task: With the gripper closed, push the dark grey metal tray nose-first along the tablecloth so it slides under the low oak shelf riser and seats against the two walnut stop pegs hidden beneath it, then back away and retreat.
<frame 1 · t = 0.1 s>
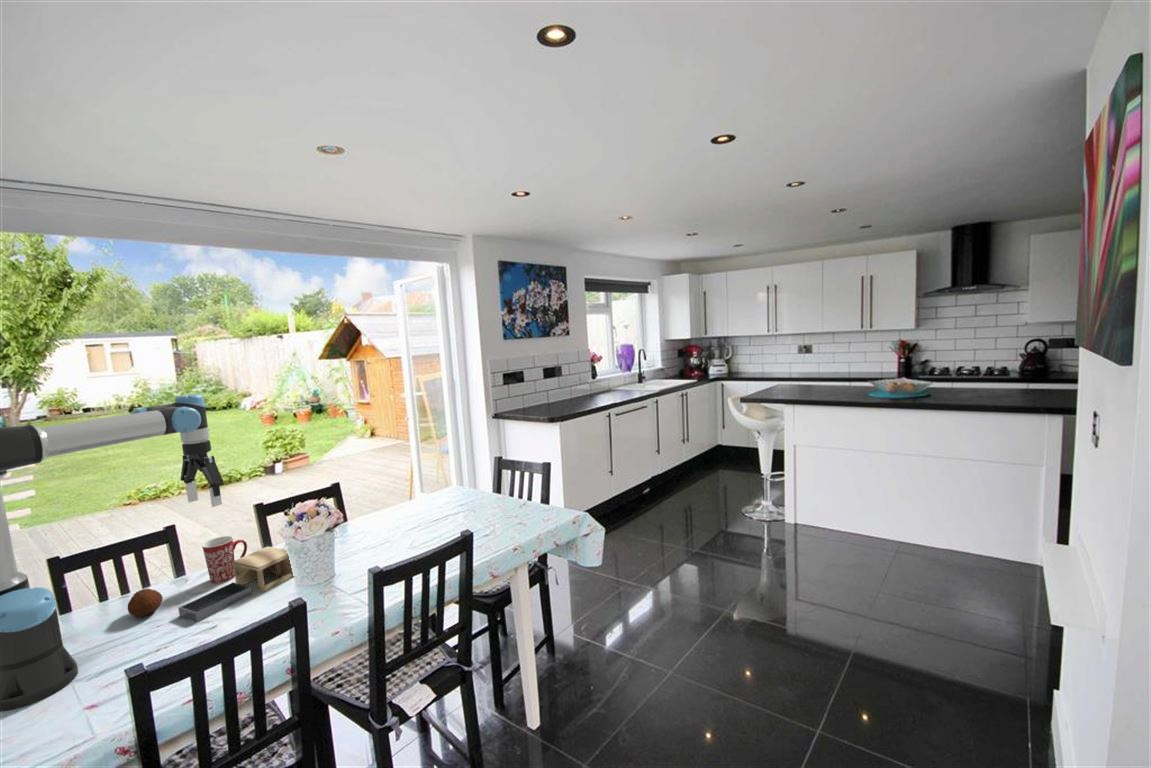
hand: (204, 503, 170), 28 cm above the table, fingers open, 13 cm apart
potato: (146, 613, 156), on the table
shelf: (266, 580, 173), on the table
mug: (229, 577, 177), on the table
tray: (216, 606, 158), on the table
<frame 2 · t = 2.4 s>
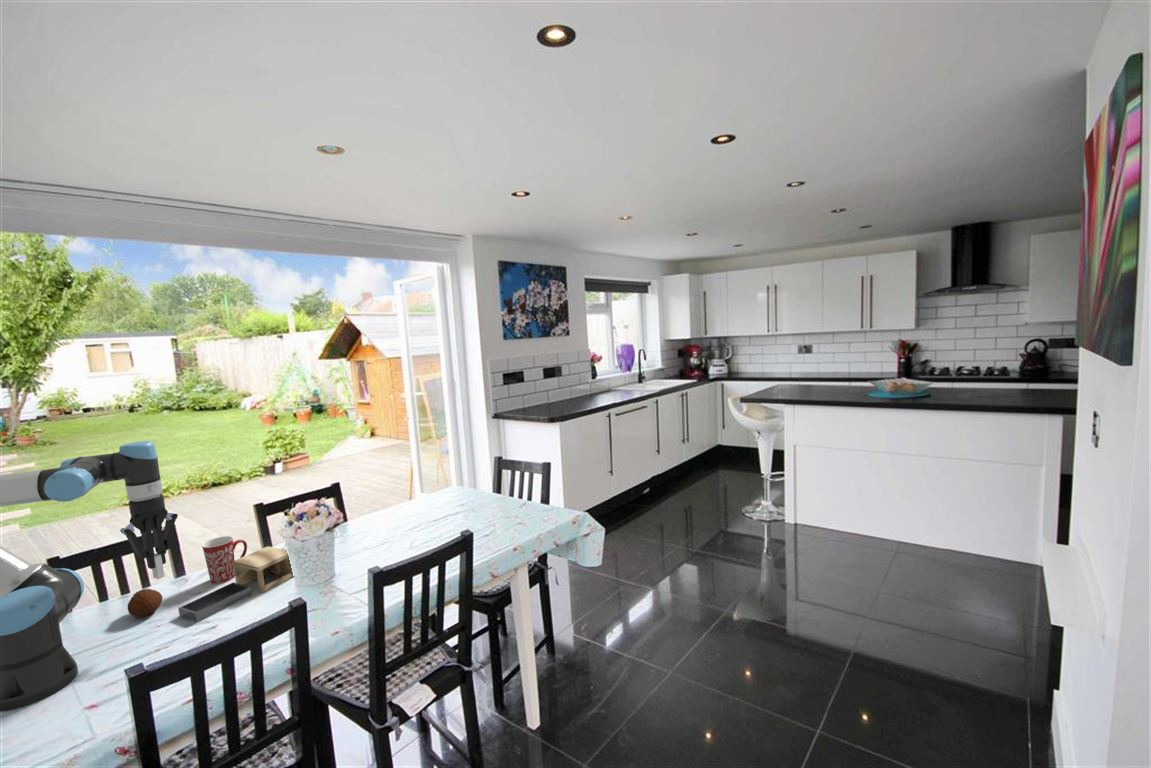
hand: (159, 577, 144), 16 cm above the table, fingers closed
nothing on the table moved.
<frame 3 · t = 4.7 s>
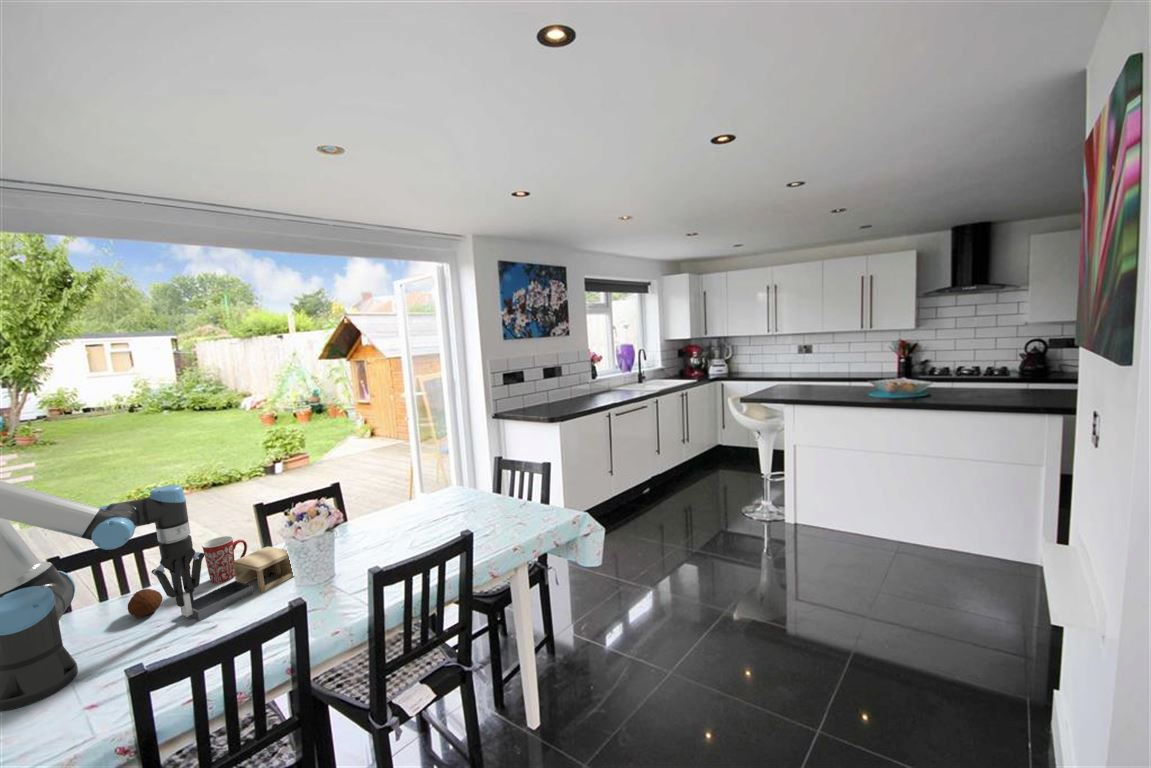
hand: (187, 614, 151), 2 cm above the table, fingers closed
tray: (218, 604, 159), on the table, touching gripper
everything else where it was.
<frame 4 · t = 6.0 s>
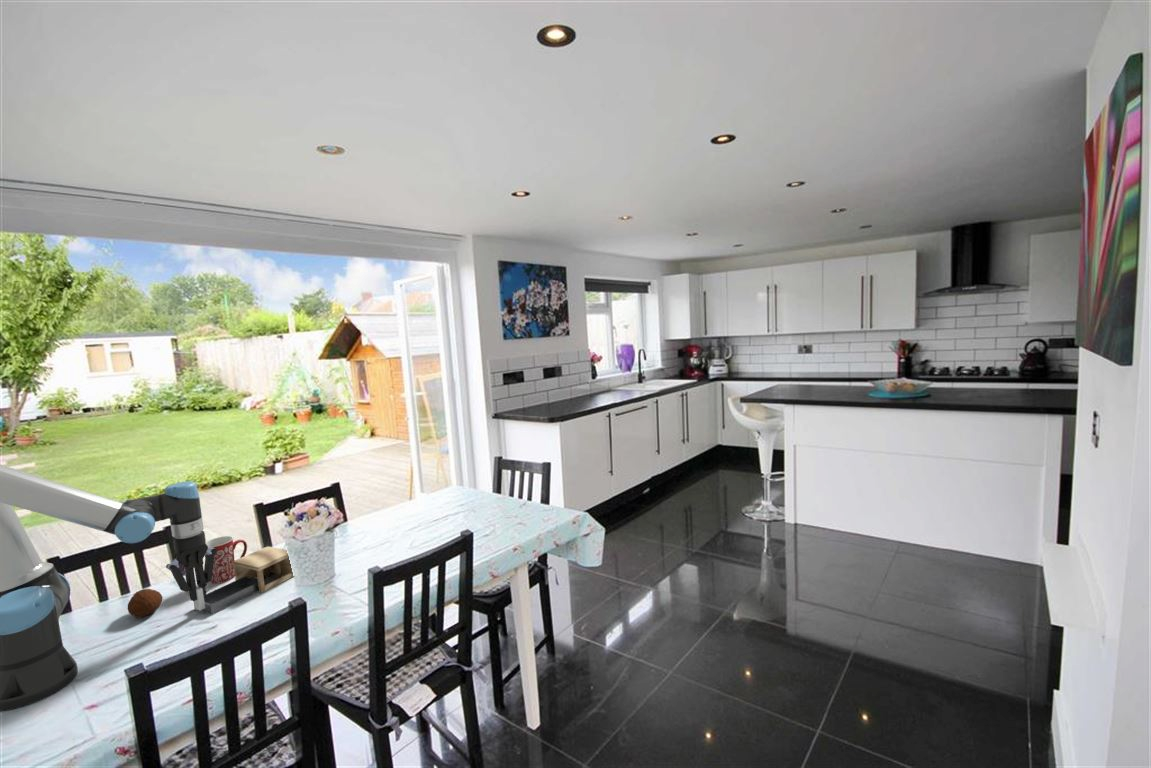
hand: (200, 608, 154), 2 cm above the table, fingers closed
tray: (230, 599, 162), on the table
everything else where it was.
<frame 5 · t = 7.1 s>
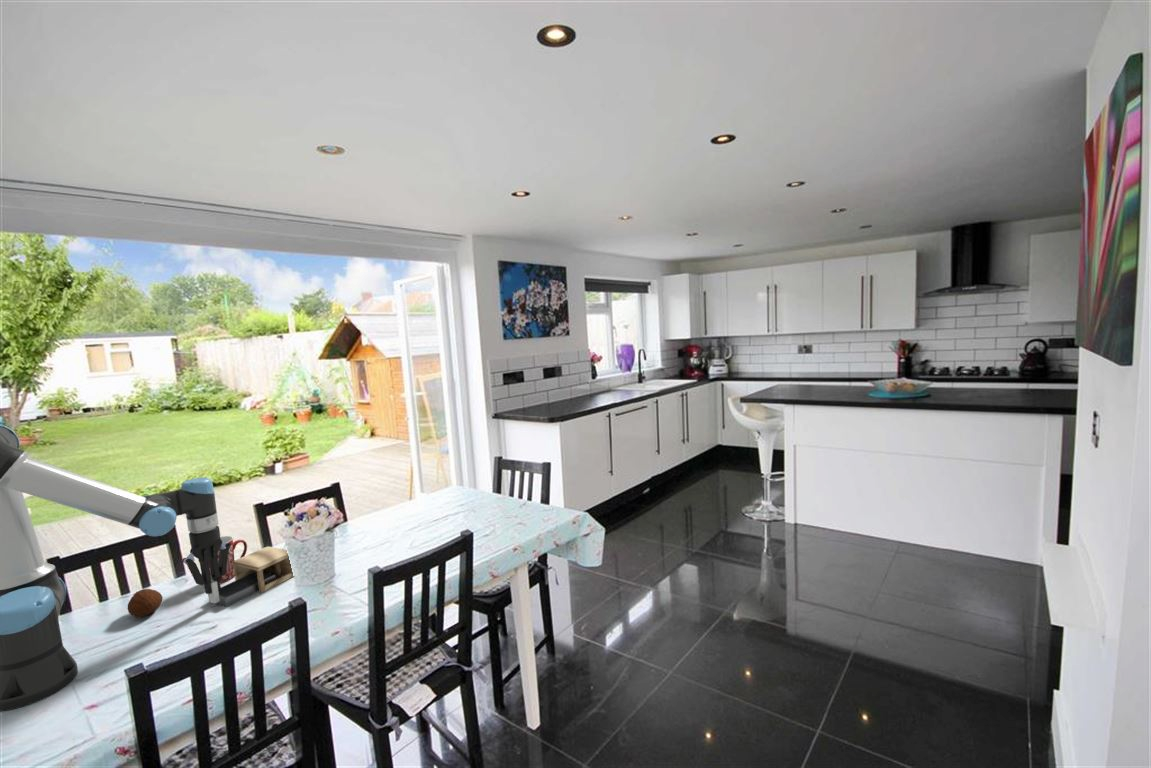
hand: (214, 601, 158), 1 cm above the table, fingers closed
tray: (243, 592, 166), on the table
everything else where it was.
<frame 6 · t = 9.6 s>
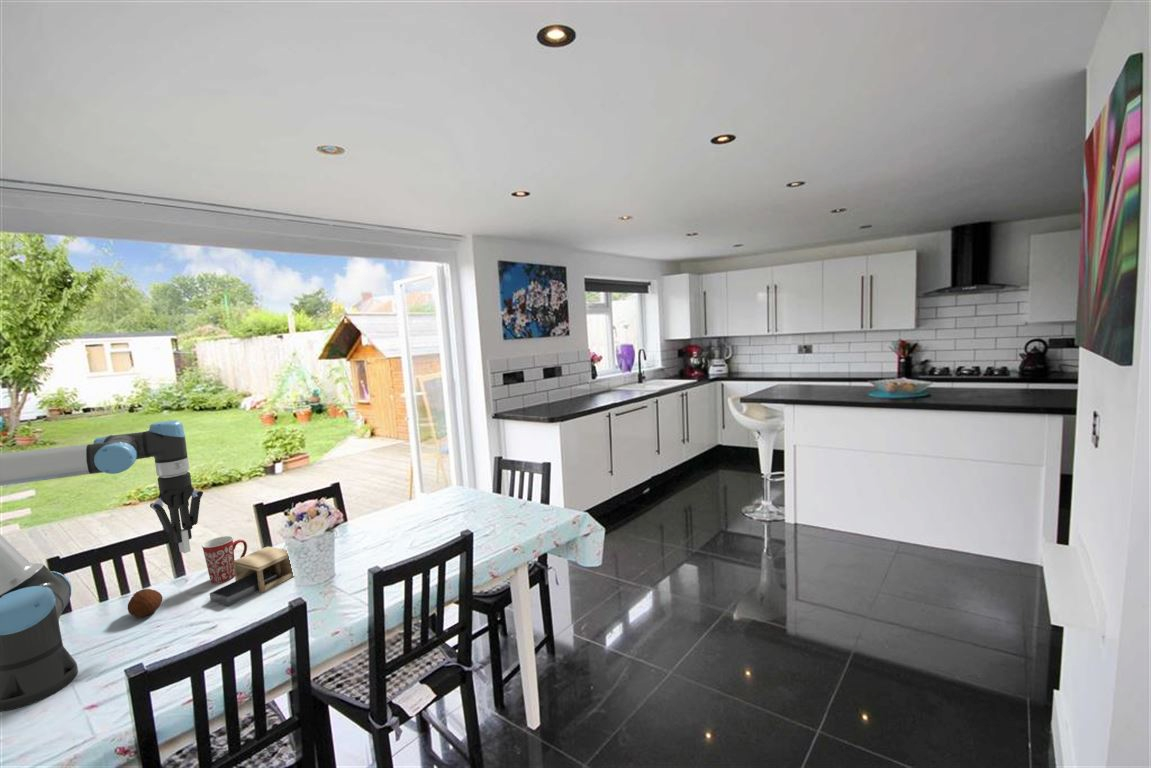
hand: (185, 551, 151), 20 cm above the table, fingers closed
nothing on the table moved.
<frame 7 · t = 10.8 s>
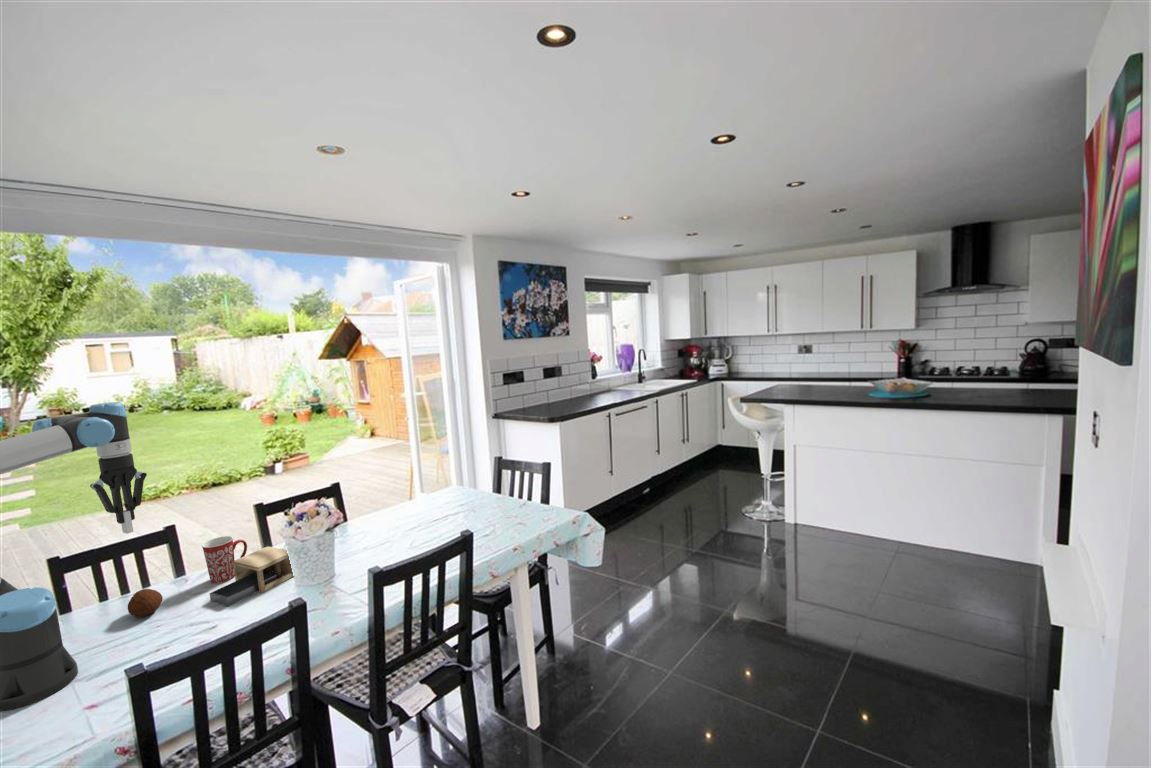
hand: (128, 532, 152), 26 cm above the table, fingers closed
nothing on the table moved.
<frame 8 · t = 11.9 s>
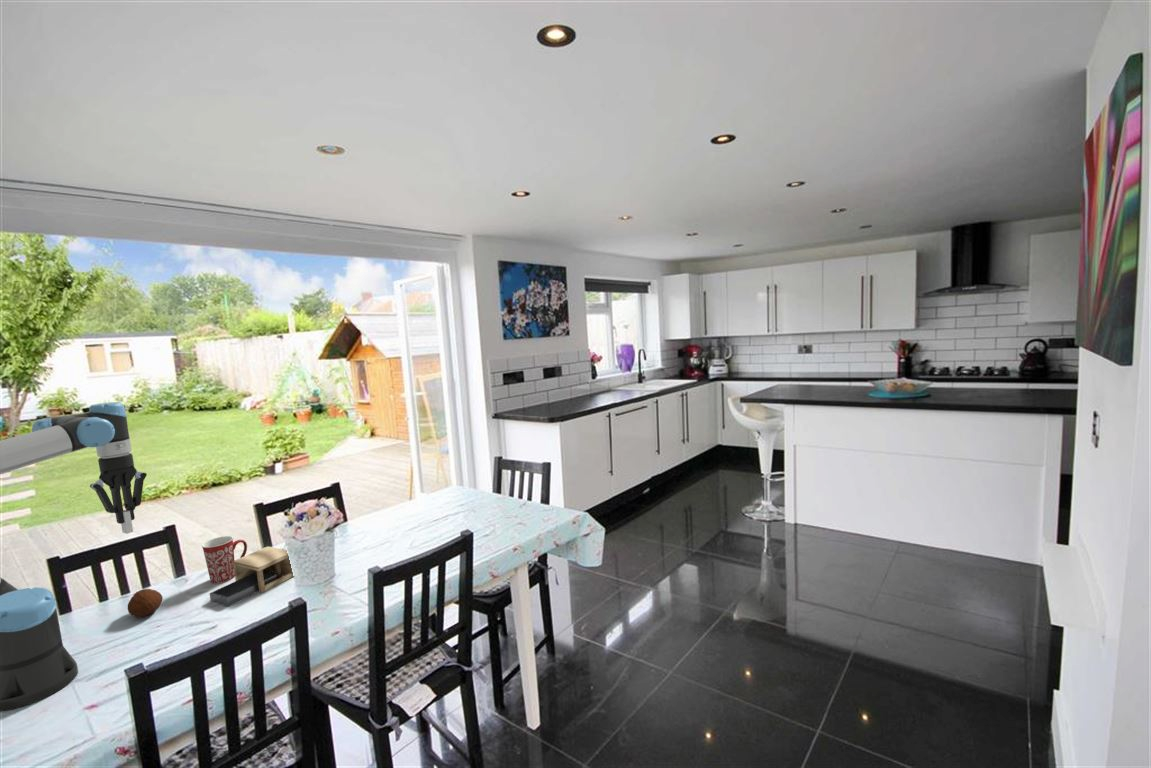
hand: (127, 532, 152), 26 cm above the table, fingers closed
nothing on the table moved.
at the end: tray 0.5 cm from the target spot on the table beside the shelf, on the table; tray tilted 0°; tray moved 8.8 cm from its start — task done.
